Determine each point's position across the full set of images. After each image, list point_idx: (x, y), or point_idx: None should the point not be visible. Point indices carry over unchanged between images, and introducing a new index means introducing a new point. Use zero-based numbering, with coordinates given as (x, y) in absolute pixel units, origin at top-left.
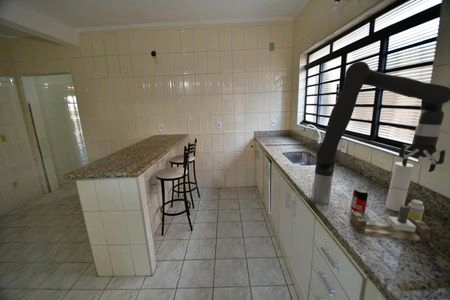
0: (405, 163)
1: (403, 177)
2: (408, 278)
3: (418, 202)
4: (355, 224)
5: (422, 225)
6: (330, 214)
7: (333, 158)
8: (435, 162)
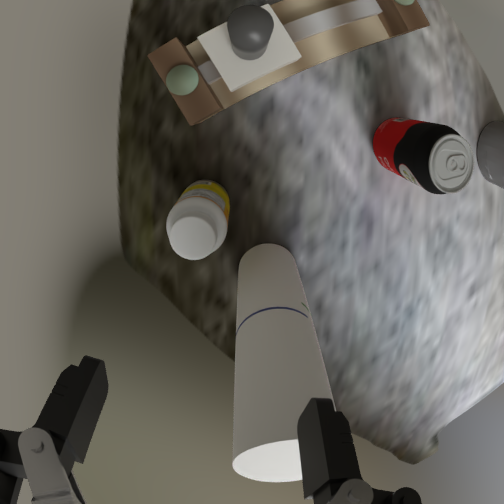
0: (324, 430)
1: (275, 365)
2: None
3: (187, 227)
4: None
5: (174, 62)
6: (460, 57)
7: None
8: (21, 448)
